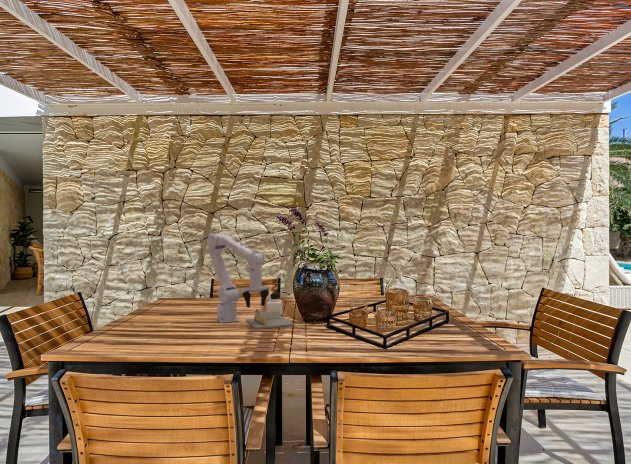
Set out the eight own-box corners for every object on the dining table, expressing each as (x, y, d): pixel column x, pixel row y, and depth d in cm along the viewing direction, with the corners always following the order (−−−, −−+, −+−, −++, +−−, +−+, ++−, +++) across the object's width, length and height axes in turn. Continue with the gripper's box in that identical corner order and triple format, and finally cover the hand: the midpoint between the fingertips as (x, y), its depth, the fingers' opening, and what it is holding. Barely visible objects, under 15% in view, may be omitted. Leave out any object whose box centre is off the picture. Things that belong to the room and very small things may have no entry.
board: (255, 329, 214) (255, 327, 214) (245, 320, 231) (245, 319, 231) (294, 325, 221) (294, 324, 221) (282, 317, 238) (282, 316, 238)
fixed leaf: (255, 321, 227) (255, 310, 227) (253, 320, 229) (253, 309, 229) (281, 319, 232) (281, 308, 232) (279, 318, 234) (279, 307, 234)
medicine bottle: (282, 313, 249) (282, 291, 249) (279, 316, 242) (280, 293, 242) (269, 313, 250) (269, 291, 250) (266, 316, 243) (266, 293, 243)
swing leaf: (264, 325, 217) (264, 316, 217) (253, 319, 229) (253, 311, 229) (269, 324, 218) (269, 315, 218) (258, 319, 230) (258, 310, 230)
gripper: (245, 280, 215) (245, 309, 216) (273, 278, 223) (273, 306, 224) (239, 278, 221) (239, 307, 222) (266, 276, 229) (266, 304, 229)
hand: (255, 306), depth 223 cm, fingers open, 7 cm apart
